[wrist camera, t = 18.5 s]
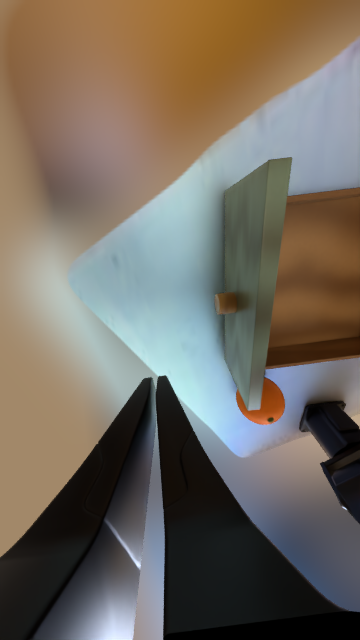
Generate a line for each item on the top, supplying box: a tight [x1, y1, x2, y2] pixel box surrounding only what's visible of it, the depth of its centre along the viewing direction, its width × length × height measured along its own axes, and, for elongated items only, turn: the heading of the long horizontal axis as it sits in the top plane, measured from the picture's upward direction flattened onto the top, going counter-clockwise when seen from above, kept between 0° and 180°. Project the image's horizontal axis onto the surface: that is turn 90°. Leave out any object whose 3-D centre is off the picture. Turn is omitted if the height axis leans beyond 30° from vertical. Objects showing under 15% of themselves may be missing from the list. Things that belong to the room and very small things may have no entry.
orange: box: [236, 377, 285, 425], centre depth 24 cm, size 6×6×6 cm
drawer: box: [215, 157, 360, 411], centre depth 16 cm, size 18×18×8 cm
